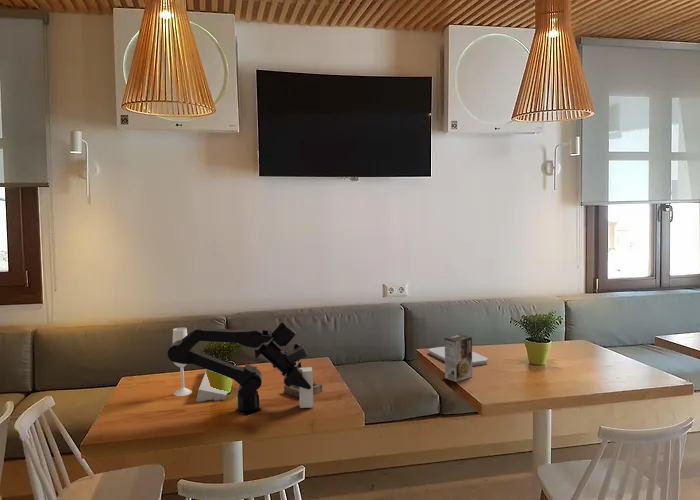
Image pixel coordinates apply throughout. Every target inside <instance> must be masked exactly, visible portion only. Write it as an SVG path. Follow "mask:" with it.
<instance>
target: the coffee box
mask: <svg viewBox="0 0 700 500" xmlns="http://www.w3.org/2000/svg"><path fill="white" fill-rule="evenodd" d="M472 339H473V338H472V336H470V335H469V336H468V335H466V334H462V333H459V334H455V335H451V336H447V337H444V346H445V361H444V378H445V379H446V380H449V381H452V382H456V383H458V382H462V381H463V380H467V379H470V378H473V366H472V351H473V342H472V341H473V340H472Z"/></svg>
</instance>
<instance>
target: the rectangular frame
mask: <svg viewBox="0 0 700 500" xmlns="http://www.w3.org/2000/svg"><path fill="white" fill-rule="evenodd" d="M321 392H323V384H321V383H318V382H314V381H313V396H314V395H317V394H319V393H321ZM283 393H285V394H286V395H290V396H293V397H296V398H299V387H298V386H294V385H291V386H290V387H287V386H286V385H284V386H283Z"/></svg>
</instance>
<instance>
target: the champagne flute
mask: <svg viewBox="0 0 700 500" xmlns="http://www.w3.org/2000/svg"><path fill="white" fill-rule="evenodd" d="M187 329H188V328H187V327H175V328H173V329H172V344H173V343H174V342H175V341H178V340H182V339H183V338H184V337H186V336H187V335H188V330H187ZM172 363H173V364H174V365H175V366H177V368H180V369H179V373H180V374H179V375H180V388H178V389H177V390H176V391H175V392H174V393H173V395H174V396H177V397H184V396H188V395H191V394H192V393H193V391H192V390H191V389H189V388H187V387H185V374H184V373H185V372H184V367H186V366H187V365H188V364H181V363H175V362H172Z"/></svg>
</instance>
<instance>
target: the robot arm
mask: <svg viewBox="0 0 700 500" xmlns="http://www.w3.org/2000/svg"><path fill="white" fill-rule="evenodd" d="M297 335H298V332H297V331H296V330H295V329H294V328H293V327H292V326H291V325H290V324H289V325H288V324H287V323H286V322H284V321H282V320H281V321H280V322H279V323H278V325H277V326H276V327H275V328H274V329H273V330H265V329H261V327H257V326H251V327H243V328H240V329H229V328H228V329H227V328H226V329H225V328H210V327H209V328H207V327H200V326H198V327H197V326H196V327H195V328H194V329H193V330H192V331H191V332H189V333H187V336H186V337H184V338H183V339H182V340H178V341H175V342H174V343H173V342H172V344H171V346H170V347H169V349H168V350H167V357H168V360H170V362H172V363H173V362H175V363H181V364H187V365H194V366H196V367H200V368H202V369H204V370H210V371H212V372H215V373H218V374H220V375H223V376H226V377H228V378H231V380H234V381H235V382H236V383H237V384H238V389H237V408H235V411H236V412H238V413H240V414H243V415H246V416H247V415H251V414H253V413H256V412H259V411H261V410H262V408H263V407H260V394H259V389H261V386H262V382H263V375H262V372H261V371H260V370H259V369H258V366H253V365H251V364H249V363H245V365H244V366H237V365H235V364H232V363H230V362H227V361H225V360H221V359H219V358H217V357H214V356H211V355H208V354H206V353H203V352H200V351H199V350H198V349H196V348H195V345H197V344H198V343H199V342H216V343H231V344H233V343H234V344H238V345H241V346H243V347H248V348H252V349H254V350H253V351H254V354H255V355H254V358H255V359H257V358H259V356H260V355H261V356H262V357H263V358H264V359H266V360H267V362H269V363H271V365H272V367H273V368H274V369H277V370H278V371H279V372H280V373H281V376H283V384H284V386H287V387H290V386H291V385H294V386H298V387H302V388H305V389H308V390H310V389H311V386H310V385H309V383H308V382H307V381H306V380H305V378H304V377H303V376H302V369H301V370H300V369H299V368H302V362H301V360H302V359H305V358H307V357H308V352H307V349H306V348H305V346H304V345H303V344H300V343H298V342H297V343H295V344H293V348H292V349H291V350H290V351H287V350H283V349H282V348H281V347H287V345H289V343H290V342H292V340H293V339H294V338H295V337H296V336H297ZM297 362H299V363H298V364H297Z"/></svg>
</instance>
